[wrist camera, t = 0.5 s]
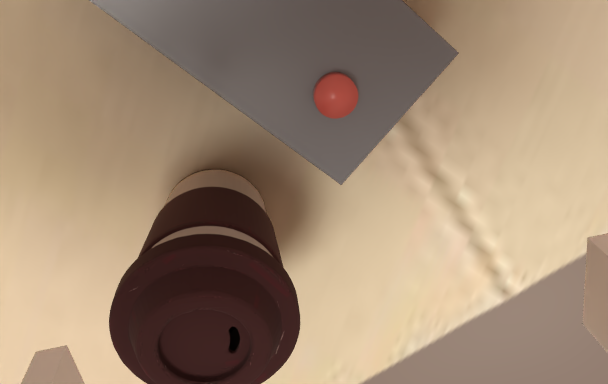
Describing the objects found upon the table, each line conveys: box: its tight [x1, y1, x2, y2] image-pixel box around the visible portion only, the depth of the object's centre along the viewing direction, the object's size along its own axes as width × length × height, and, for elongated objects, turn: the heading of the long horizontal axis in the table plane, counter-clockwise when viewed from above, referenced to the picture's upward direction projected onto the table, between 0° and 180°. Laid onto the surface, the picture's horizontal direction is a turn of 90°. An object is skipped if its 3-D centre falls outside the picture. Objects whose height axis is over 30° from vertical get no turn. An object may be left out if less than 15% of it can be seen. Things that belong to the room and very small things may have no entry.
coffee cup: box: [109, 170, 300, 384], centre depth 35 cm, size 10×10×15 cm
